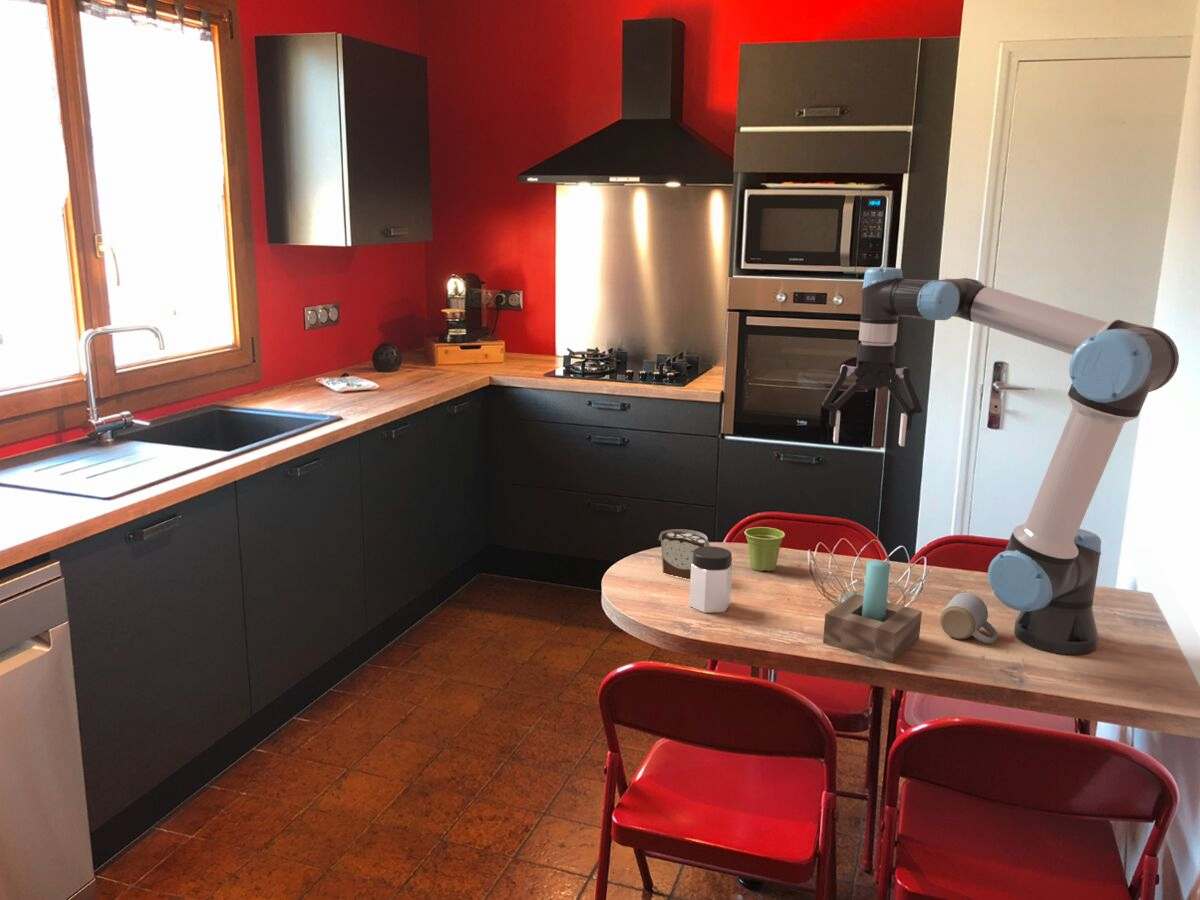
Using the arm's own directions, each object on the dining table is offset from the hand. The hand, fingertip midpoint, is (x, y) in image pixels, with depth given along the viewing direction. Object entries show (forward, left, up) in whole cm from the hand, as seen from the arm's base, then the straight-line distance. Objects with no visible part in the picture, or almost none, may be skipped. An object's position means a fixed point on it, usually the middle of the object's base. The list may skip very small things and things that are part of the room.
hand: (868, 443), depth 209 cm
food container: (+36, +12, -35) cm, 52 cm away
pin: (-12, +20, -34) cm, 41 cm away
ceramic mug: (-26, +4, -35) cm, 44 cm away
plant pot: (+25, -4, -35) cm, 43 cm away
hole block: (-12, +20, -35) cm, 42 cm away
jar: (+22, +25, -35) cm, 48 cm away
